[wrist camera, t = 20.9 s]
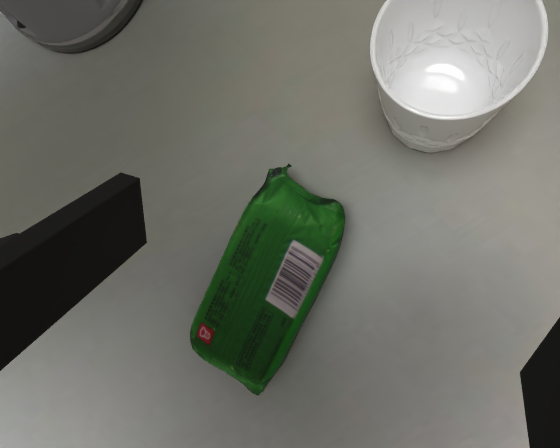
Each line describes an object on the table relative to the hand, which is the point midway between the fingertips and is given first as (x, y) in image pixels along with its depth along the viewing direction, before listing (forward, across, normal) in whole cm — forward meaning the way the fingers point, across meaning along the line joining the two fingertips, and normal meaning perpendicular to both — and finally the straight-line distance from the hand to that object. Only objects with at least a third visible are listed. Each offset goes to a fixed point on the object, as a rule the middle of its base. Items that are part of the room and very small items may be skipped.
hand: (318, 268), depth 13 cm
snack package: (+13, -5, -13) cm, 19 cm away
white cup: (+21, +2, 0) cm, 22 cm away
